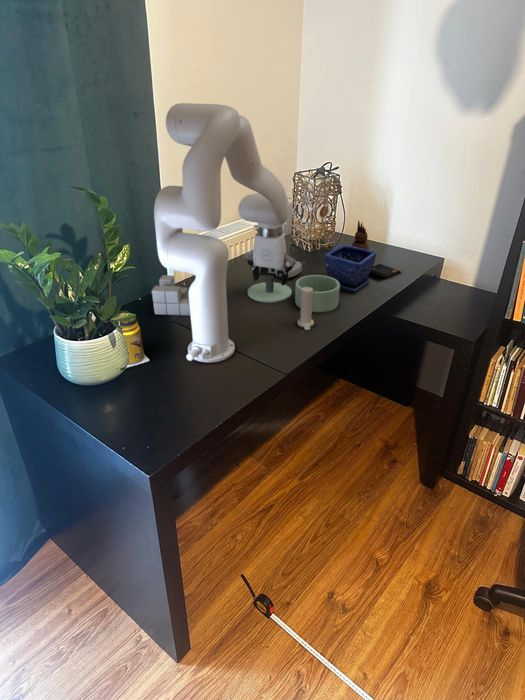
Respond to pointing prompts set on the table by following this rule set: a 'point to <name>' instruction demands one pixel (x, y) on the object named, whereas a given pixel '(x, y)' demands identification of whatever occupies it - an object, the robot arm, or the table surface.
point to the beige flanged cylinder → (306, 308)
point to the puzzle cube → (170, 298)
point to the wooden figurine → (360, 238)
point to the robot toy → (291, 273)
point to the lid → (269, 291)
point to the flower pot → (350, 266)
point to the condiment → (133, 341)
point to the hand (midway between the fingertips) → (270, 281)
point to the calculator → (384, 271)
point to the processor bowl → (319, 292)
